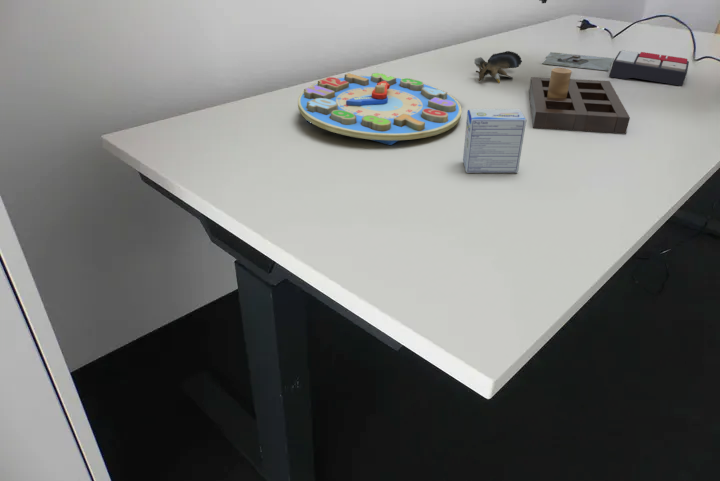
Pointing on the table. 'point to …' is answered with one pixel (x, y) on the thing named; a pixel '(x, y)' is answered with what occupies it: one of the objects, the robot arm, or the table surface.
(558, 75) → the peg
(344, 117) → the shape sorting clock
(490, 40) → the table surface
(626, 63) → the dual switch box
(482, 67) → the squirrel figurine
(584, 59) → the grey fossil slab
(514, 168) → the medicine box
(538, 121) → the brown grid tray
